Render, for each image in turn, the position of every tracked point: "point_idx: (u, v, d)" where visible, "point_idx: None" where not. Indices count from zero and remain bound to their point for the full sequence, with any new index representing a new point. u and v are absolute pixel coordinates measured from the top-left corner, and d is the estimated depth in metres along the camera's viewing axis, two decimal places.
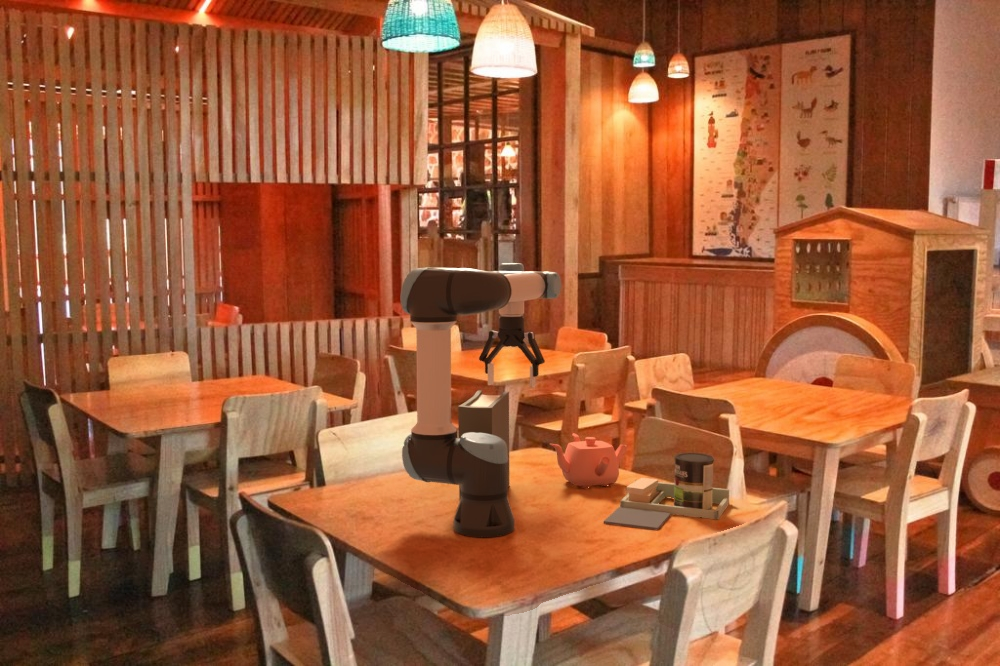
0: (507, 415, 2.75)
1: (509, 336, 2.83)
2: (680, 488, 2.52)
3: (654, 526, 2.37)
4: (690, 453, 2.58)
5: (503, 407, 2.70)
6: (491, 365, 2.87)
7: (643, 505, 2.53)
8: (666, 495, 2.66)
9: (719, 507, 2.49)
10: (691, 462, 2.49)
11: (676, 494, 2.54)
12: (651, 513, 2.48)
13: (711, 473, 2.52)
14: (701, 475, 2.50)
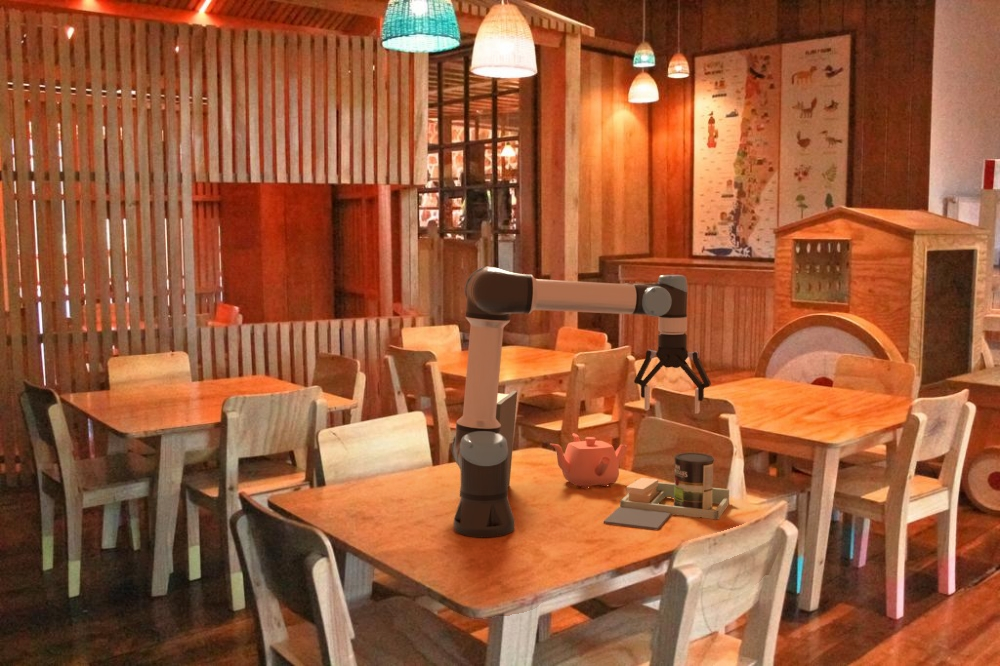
0: (513, 415, 2.75)
1: (670, 356, 2.54)
2: (680, 488, 2.52)
3: (654, 526, 2.37)
4: (690, 453, 2.58)
5: (510, 406, 2.71)
6: (648, 388, 2.58)
7: (643, 505, 2.53)
8: (666, 495, 2.66)
9: (719, 507, 2.49)
10: (691, 462, 2.49)
11: (676, 494, 2.54)
12: (651, 513, 2.48)
13: (711, 473, 2.52)
14: (701, 475, 2.50)
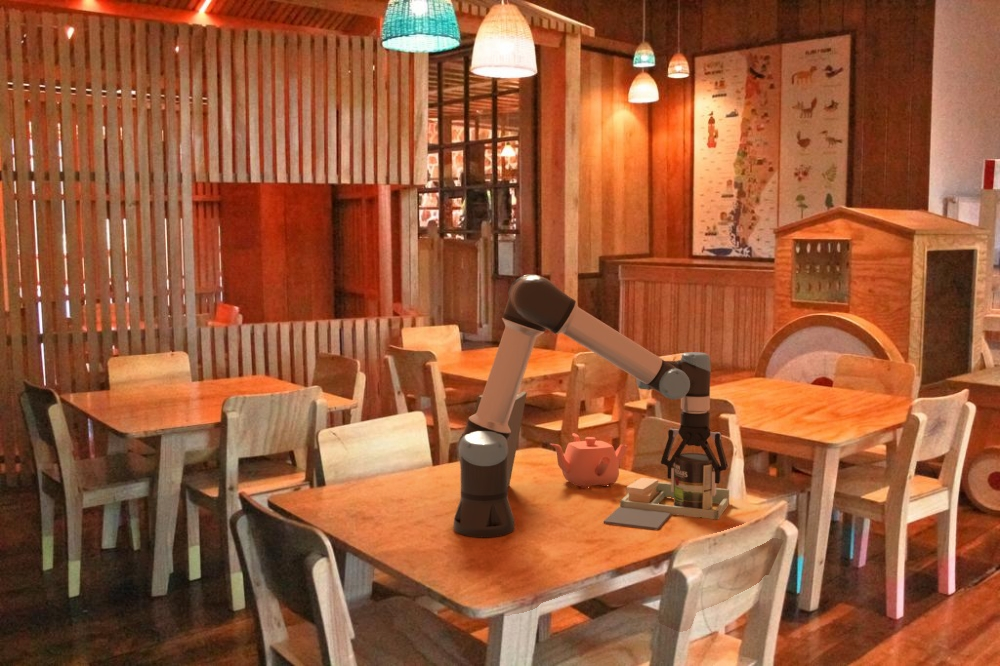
0: (521, 415, 2.75)
1: (693, 434, 2.52)
2: (680, 488, 2.52)
3: (654, 526, 2.37)
4: (690, 453, 2.58)
5: (519, 406, 2.71)
6: None
7: (643, 505, 2.53)
8: (666, 495, 2.66)
9: (719, 507, 2.49)
10: (691, 462, 2.49)
11: (676, 494, 2.54)
12: (651, 513, 2.48)
13: (711, 473, 2.52)
14: (701, 475, 2.50)
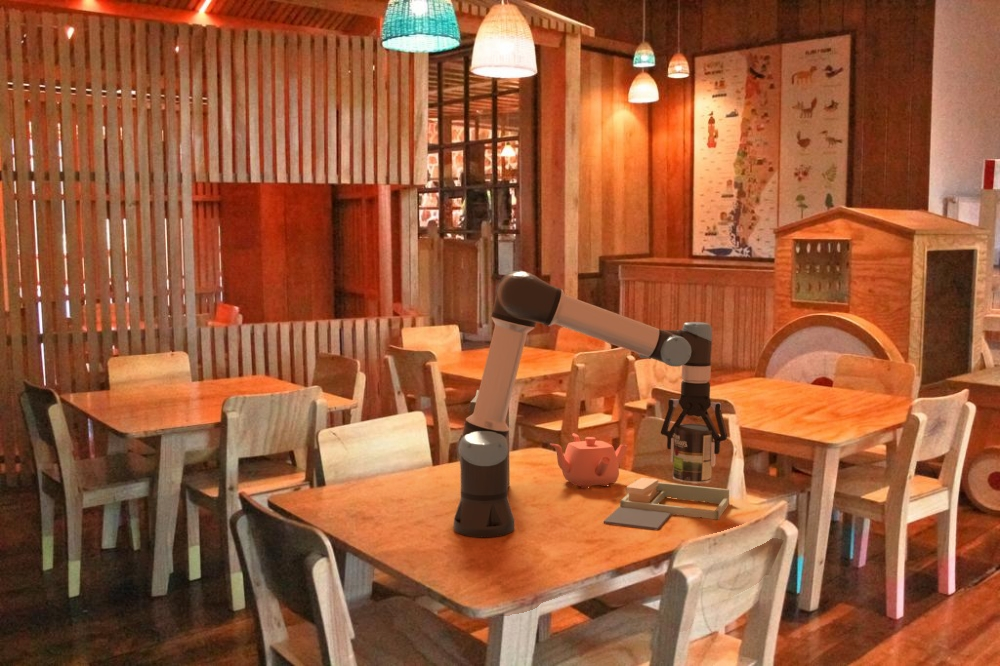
0: (508, 413, 2.76)
1: (693, 404, 2.52)
2: (680, 459, 2.51)
3: (654, 526, 2.37)
4: (690, 424, 2.57)
5: None
6: (674, 440, 2.55)
7: (643, 505, 2.53)
8: (666, 495, 2.66)
9: (719, 507, 2.49)
10: (691, 432, 2.48)
11: (675, 464, 2.53)
12: (651, 513, 2.48)
13: None
14: (701, 445, 2.49)
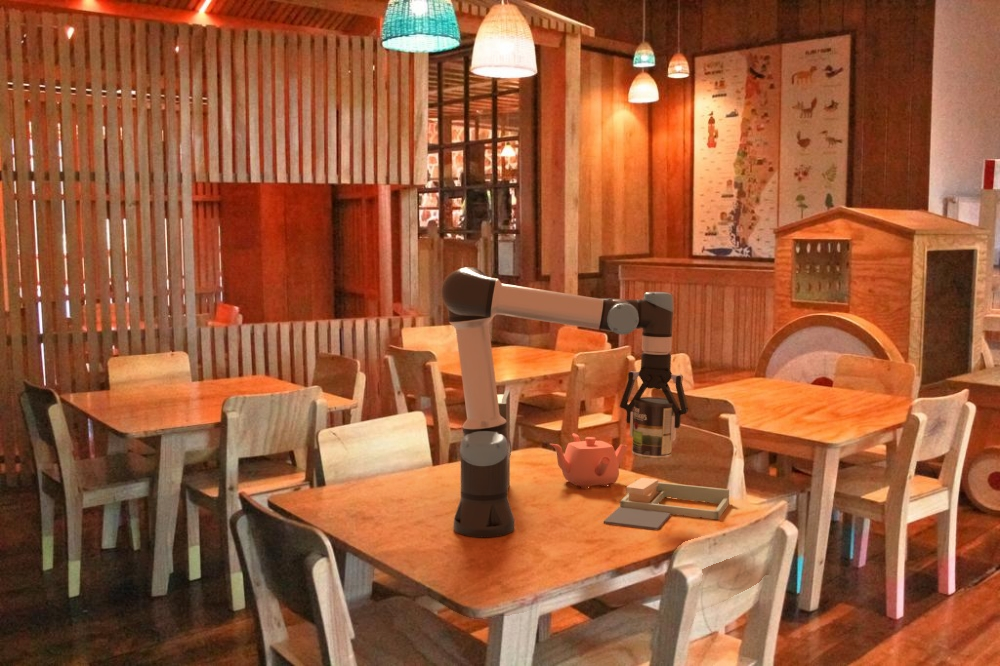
0: (509, 414, 2.76)
1: (653, 377, 2.44)
2: (639, 432, 2.43)
3: (654, 526, 2.37)
4: (650, 397, 2.50)
5: (507, 405, 2.71)
6: None
7: (643, 505, 2.53)
8: (666, 495, 2.66)
9: (719, 507, 2.49)
10: (651, 404, 2.41)
11: (635, 438, 2.45)
12: (651, 513, 2.48)
13: (671, 417, 2.43)
14: (661, 418, 2.41)
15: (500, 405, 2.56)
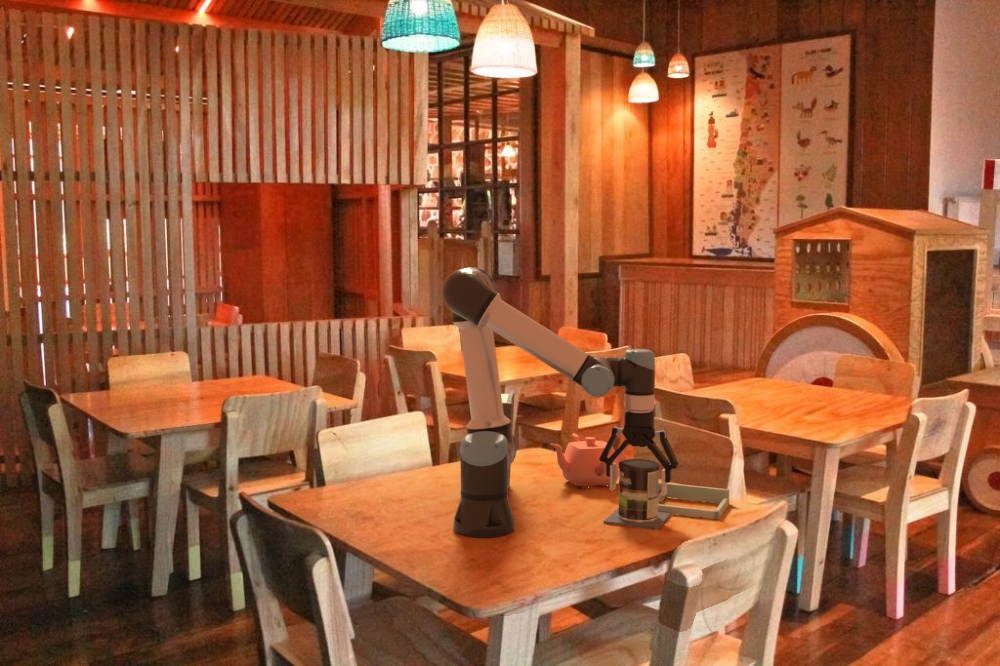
0: None
1: (637, 434, 2.42)
2: (624, 496, 2.42)
3: (654, 526, 2.37)
4: (636, 459, 2.48)
5: (512, 405, 2.71)
6: (614, 467, 2.47)
7: None
8: (666, 495, 2.66)
9: (719, 507, 2.49)
10: (635, 469, 2.39)
11: (620, 502, 2.44)
12: None
13: (656, 480, 2.42)
14: (645, 483, 2.40)
15: (505, 405, 2.56)
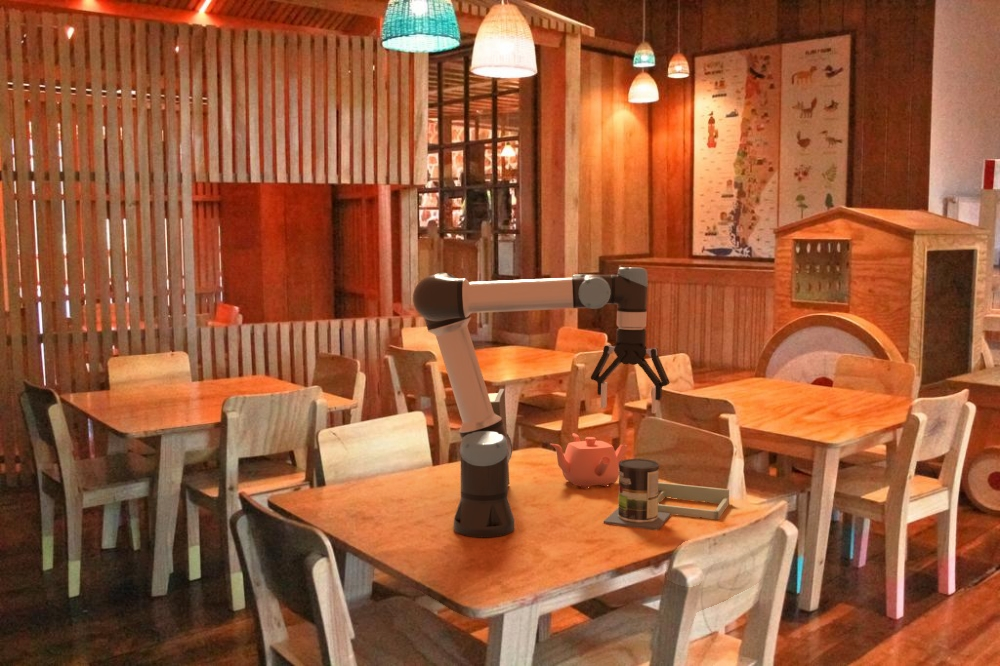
0: (504, 412, 2.76)
1: (628, 352, 2.43)
2: (624, 496, 2.42)
3: (654, 526, 2.37)
4: (635, 459, 2.48)
5: (502, 404, 2.71)
6: (605, 385, 2.47)
7: None
8: (666, 495, 2.66)
9: (719, 507, 2.49)
10: (634, 469, 2.39)
11: (620, 502, 2.44)
12: None
13: (656, 480, 2.42)
14: (645, 483, 2.40)
15: (493, 403, 2.56)
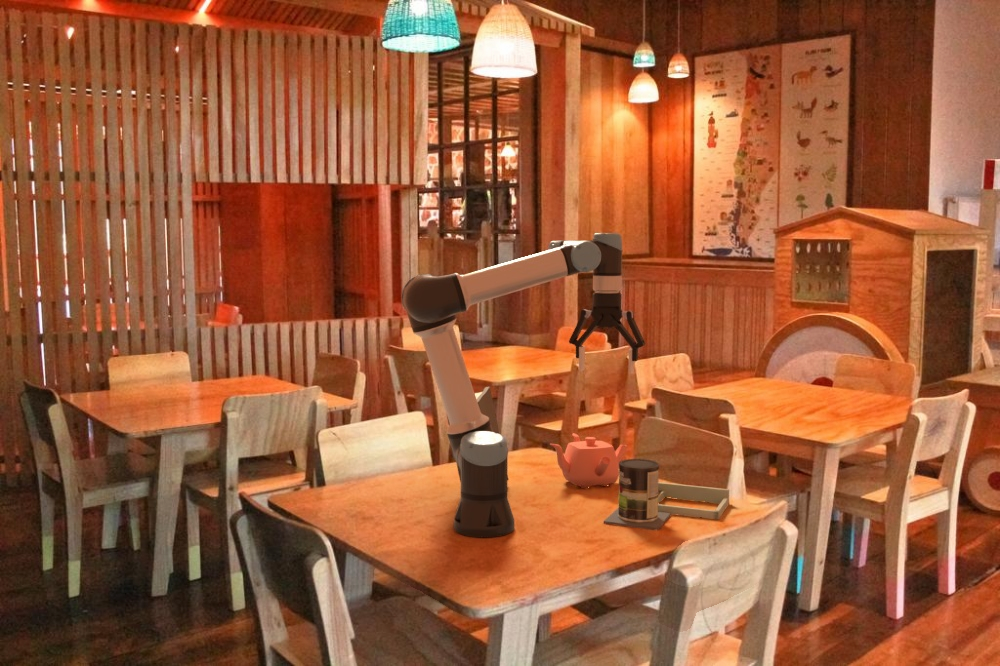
0: (493, 410, 2.75)
1: (604, 315, 2.50)
2: (624, 496, 2.42)
3: (654, 526, 2.37)
4: (636, 459, 2.48)
5: (488, 402, 2.71)
6: (583, 348, 2.54)
7: None
8: (666, 495, 2.66)
9: (719, 507, 2.49)
10: (635, 469, 2.39)
11: (620, 502, 2.44)
12: None
13: (656, 480, 2.42)
14: (645, 483, 2.40)
15: None
